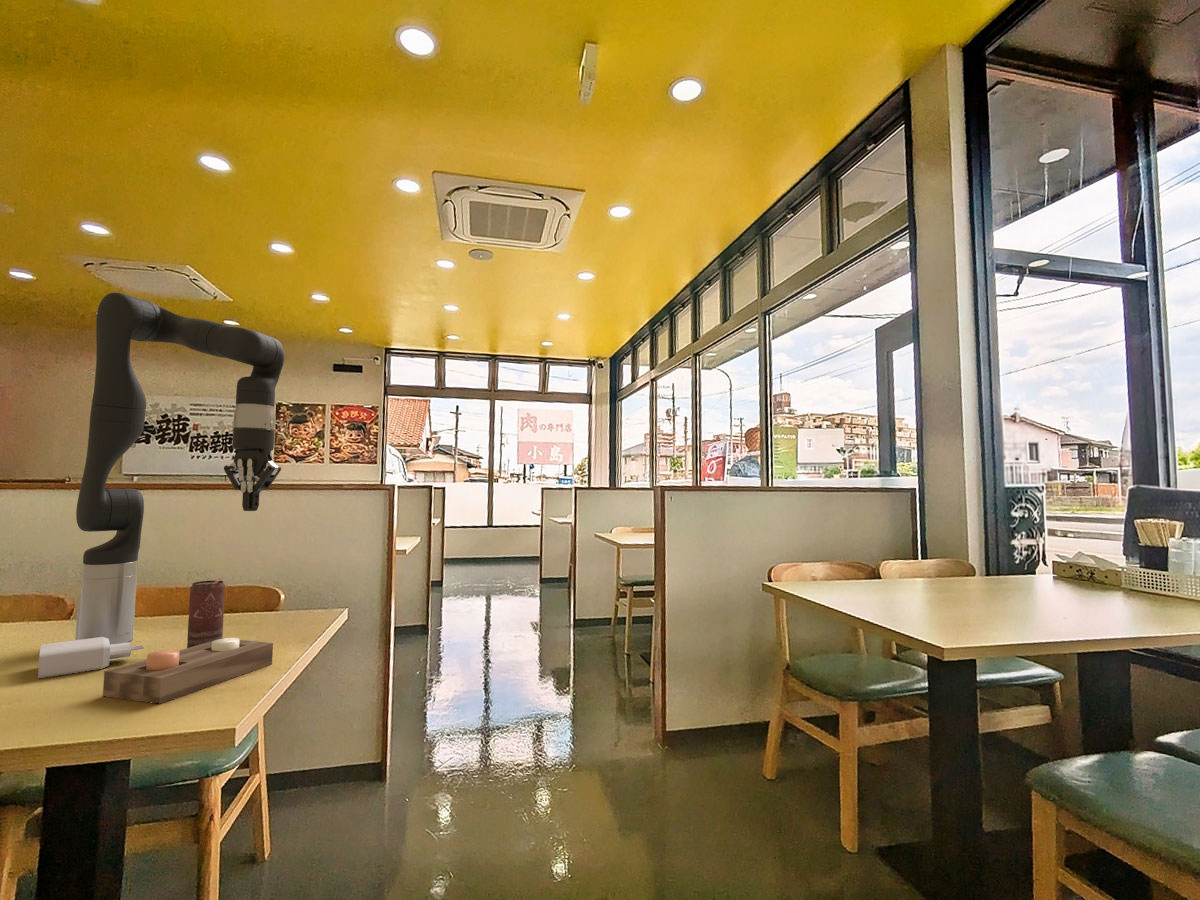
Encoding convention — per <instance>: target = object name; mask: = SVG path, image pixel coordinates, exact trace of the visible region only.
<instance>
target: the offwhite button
mask: <svg viewBox="0 0 1200 900" xmlns="http://www.w3.org/2000/svg"><path fill="white" fill-rule="evenodd" d="M223 638H224V637H223ZM240 640H241V639H240V638H238V637H225V638H224V639H218V640H215V641H213V642H212V649H211V650H212V651H222V652H225V651H229V650H232V649H235V648H239V642H240Z"/></svg>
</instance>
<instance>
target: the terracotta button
mask: <svg viewBox="0 0 1200 900" xmlns="http://www.w3.org/2000/svg"><path fill="white" fill-rule="evenodd" d="M179 653H180V651H179V649H161V650H158V651H157V650H156V651H153V652H150V653H148V654H147V655H146V659H147V665H146V670H152V671H162V670H166V669H169V668H172V667H176V666H179Z"/></svg>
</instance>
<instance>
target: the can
mask: <svg viewBox="0 0 1200 900" xmlns="http://www.w3.org/2000/svg"><path fill="white" fill-rule="evenodd" d="M225 592H226V585H225V582H224V581H223V580H220V579H217V580H203V581H196V582H195V581H194V582H192V584H191V586H190V588H189V603H188V624H187V641H186V648H190V647H194V646H197V645H201V644H204V643H208V642H212V641H215V640H218V639H222V638H224V637H223V634H224V632H223V631H224V615H225V611H224V610H225V597H226V596H225V594H226V593H225Z"/></svg>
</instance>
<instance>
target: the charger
mask: <svg viewBox="0 0 1200 900" xmlns="http://www.w3.org/2000/svg"><path fill="white" fill-rule="evenodd" d="M143 649H144V650H145V647H144V644H139V645H131V641H129V642H126V643H120V644H112V645H110V642H109V639H108V638H104V637H98V638H90V639H82V640H75V639H73V640H68V641H58V642H52V643H42V644H41V645H40V650H39V655H38V668H37V669H38V672H37V679H38V680H40V679H39V678H41V679H46V677H47V678H52V677H53V676H54V677H59V675H61V676H65V675H66V674H67V675H72V673H74V674H79V673H78V672H80V673H85V671H87V672H91V671H90V670H94V671H97V670H96V669H100V670H104V669H105V667H106V668H107V667H109V666H110V660H113V659H121V658H128V657H131V655H132V654H131V653H132V651H138V650H143ZM103 668H104V669H103ZM67 675H66V676H67Z"/></svg>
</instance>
